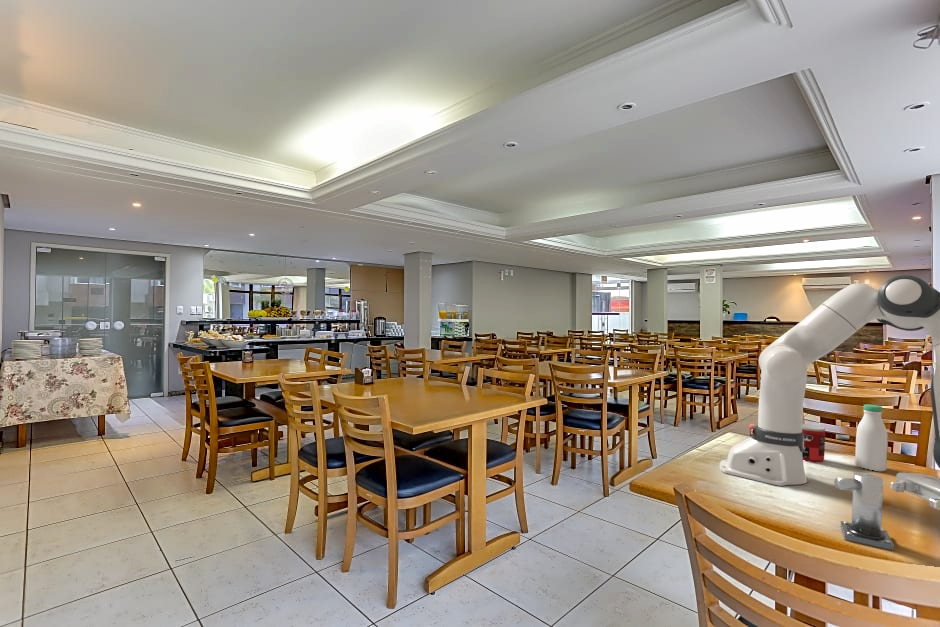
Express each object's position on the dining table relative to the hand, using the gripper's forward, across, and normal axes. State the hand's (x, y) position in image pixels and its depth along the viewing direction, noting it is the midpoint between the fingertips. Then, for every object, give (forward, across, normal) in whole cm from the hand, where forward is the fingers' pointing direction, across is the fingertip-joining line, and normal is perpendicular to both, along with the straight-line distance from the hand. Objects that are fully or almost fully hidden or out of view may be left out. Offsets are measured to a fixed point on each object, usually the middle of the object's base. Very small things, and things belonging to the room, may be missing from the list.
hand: (912, 495), depth 104 cm
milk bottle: (-31, -49, +10) cm, 59 cm away
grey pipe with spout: (+12, 0, +8) cm, 14 cm away
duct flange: (+10, 0, +10) cm, 14 cm away
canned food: (-17, -56, +10) cm, 60 cm away
